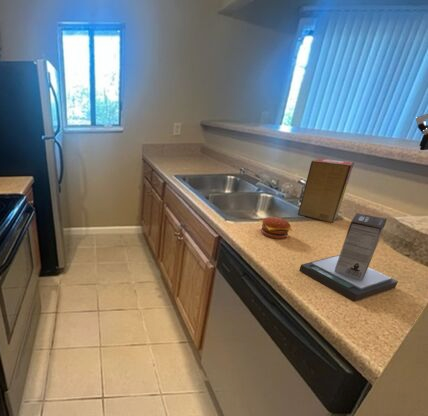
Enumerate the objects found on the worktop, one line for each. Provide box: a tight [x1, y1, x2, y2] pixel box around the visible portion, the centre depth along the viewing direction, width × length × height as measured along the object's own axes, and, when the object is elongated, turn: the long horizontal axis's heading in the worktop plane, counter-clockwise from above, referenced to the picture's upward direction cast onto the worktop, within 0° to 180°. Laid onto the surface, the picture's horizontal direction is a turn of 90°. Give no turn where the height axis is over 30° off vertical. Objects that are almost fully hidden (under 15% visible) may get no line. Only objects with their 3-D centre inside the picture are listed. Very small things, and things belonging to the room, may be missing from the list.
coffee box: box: [335, 212, 388, 280], centre depth 77 cm, size 9×6×16 cm
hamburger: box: [259, 216, 294, 240], centre depth 107 cm, size 9×10×7 cm
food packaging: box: [297, 157, 355, 224], centre depth 120 cm, size 13×9×25 cm
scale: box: [299, 254, 399, 302], centre depth 80 cm, size 15×17×3 cm
